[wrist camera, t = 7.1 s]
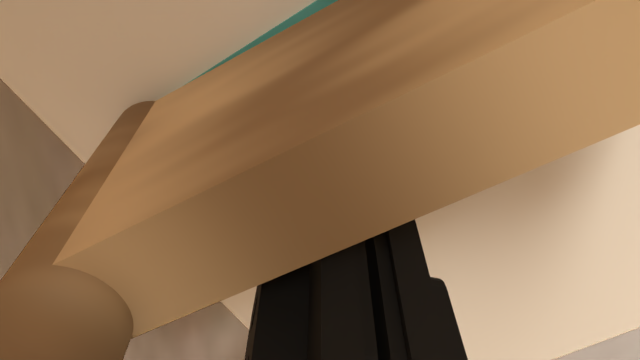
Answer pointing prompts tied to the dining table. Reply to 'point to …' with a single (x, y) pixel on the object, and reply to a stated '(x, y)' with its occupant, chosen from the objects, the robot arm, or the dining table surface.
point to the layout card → (434, 228)
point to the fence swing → (313, 156)
